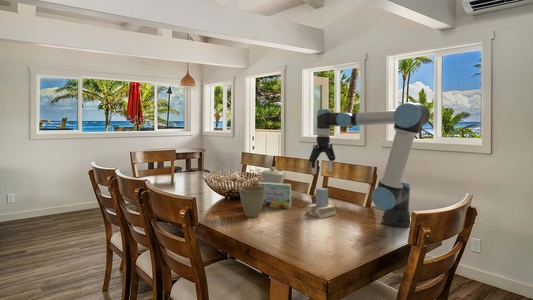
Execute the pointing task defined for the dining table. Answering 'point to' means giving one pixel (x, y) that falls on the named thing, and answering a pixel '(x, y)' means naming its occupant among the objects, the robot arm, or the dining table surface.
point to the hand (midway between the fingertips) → (322, 172)
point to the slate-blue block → (321, 197)
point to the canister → (273, 176)
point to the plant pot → (252, 199)
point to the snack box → (276, 195)
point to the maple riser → (321, 210)
